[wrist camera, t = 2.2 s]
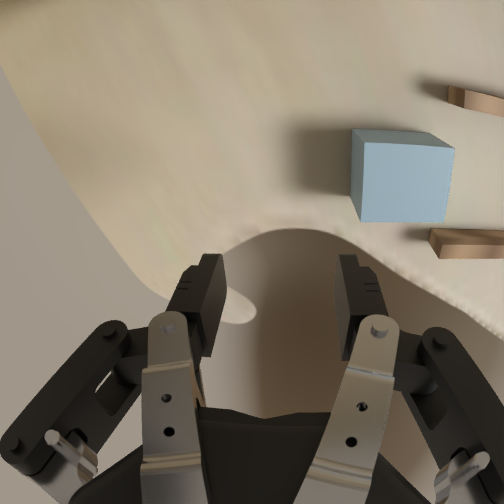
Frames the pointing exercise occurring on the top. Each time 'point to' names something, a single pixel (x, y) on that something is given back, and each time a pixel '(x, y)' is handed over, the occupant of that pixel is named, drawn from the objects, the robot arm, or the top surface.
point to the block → (400, 176)
